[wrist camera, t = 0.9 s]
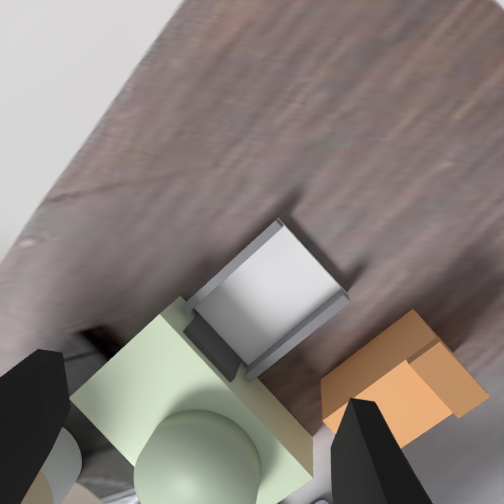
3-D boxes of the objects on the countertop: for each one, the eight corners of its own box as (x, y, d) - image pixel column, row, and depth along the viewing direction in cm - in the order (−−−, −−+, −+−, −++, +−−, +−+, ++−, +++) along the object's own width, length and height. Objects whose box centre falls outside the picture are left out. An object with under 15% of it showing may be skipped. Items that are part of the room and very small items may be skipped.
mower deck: (412, 364, 26) (442, 416, 21) (224, 501, 30) (204, 577, 25) (272, 210, 26) (261, 219, 20) (100, 369, 30) (49, 415, 24)
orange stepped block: (452, 352, 26) (490, 397, 21) (358, 419, 28) (370, 477, 22) (412, 308, 26) (439, 341, 20) (320, 378, 28) (323, 427, 22)
